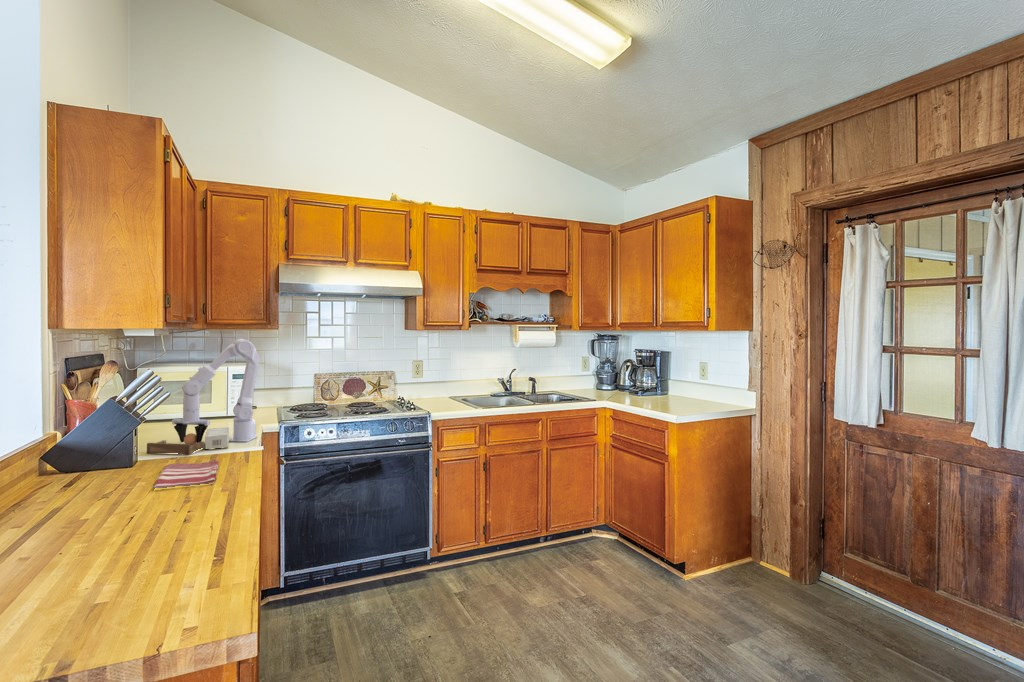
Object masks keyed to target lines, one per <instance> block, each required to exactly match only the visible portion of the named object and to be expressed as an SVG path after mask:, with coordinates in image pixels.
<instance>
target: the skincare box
mask: <svg viewBox="0 0 1024 682" xmlns="http://www.w3.org/2000/svg"><path fill="white" fill-rule="evenodd" d="M229 428H230V427H228V426H226V427H225V426H224V427H217V428H207V429H206V431H205V432H206V433H205V436H204V445H205V449H209V450H211V449H210V448H221V449H223V448H222V447H228V448H229V442H230V441H229V440H230V431H229V430H230V429H229ZM205 449H204V450H205Z"/></svg>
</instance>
